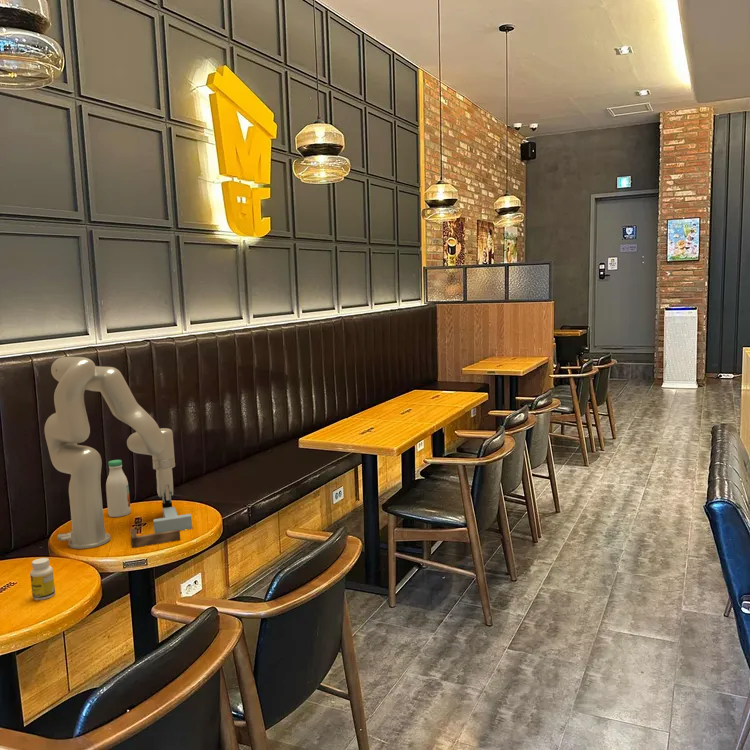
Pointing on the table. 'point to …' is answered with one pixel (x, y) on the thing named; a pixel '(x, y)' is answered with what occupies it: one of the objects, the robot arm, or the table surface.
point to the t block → (172, 521)
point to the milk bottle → (117, 490)
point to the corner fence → (153, 538)
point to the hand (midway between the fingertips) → (167, 513)
